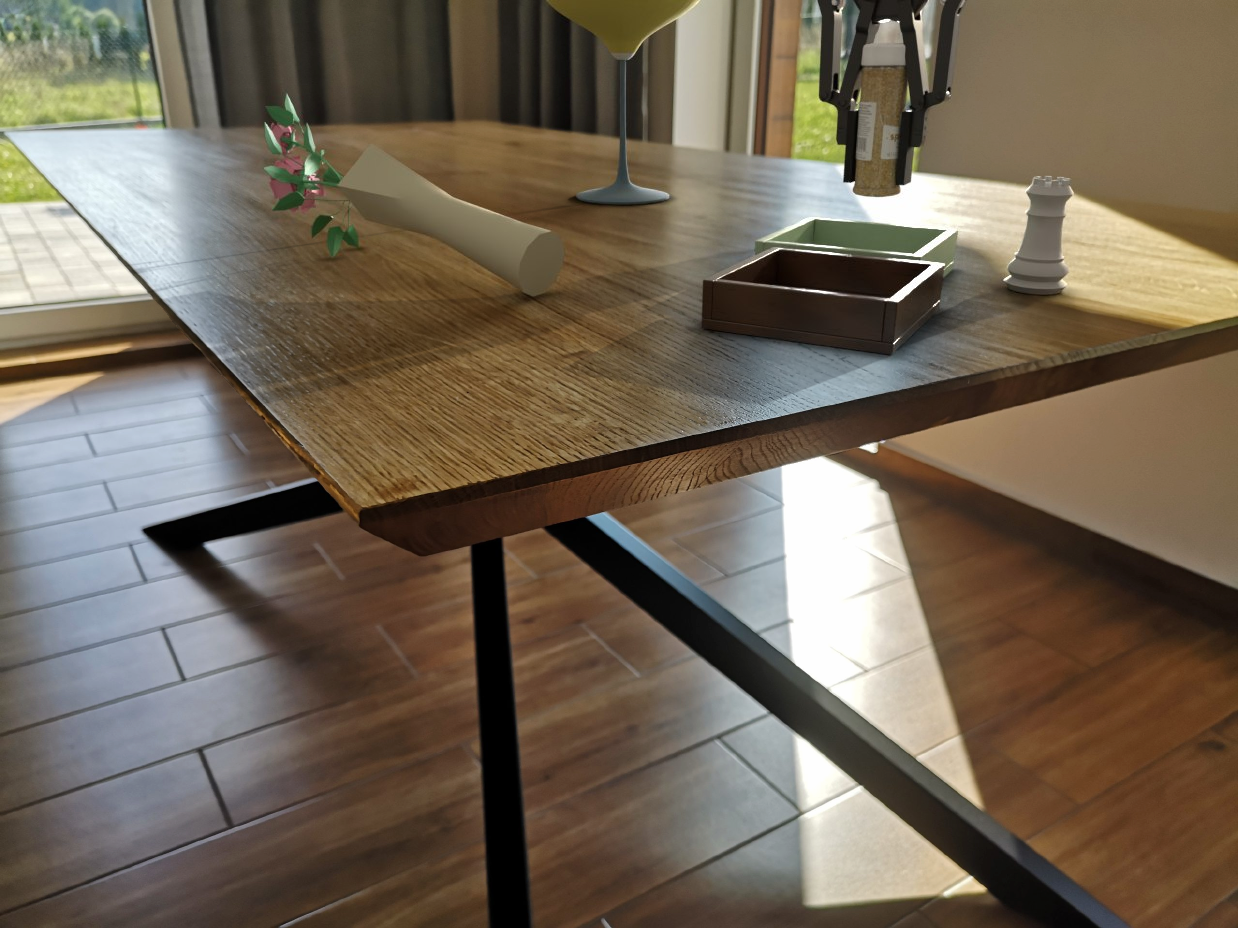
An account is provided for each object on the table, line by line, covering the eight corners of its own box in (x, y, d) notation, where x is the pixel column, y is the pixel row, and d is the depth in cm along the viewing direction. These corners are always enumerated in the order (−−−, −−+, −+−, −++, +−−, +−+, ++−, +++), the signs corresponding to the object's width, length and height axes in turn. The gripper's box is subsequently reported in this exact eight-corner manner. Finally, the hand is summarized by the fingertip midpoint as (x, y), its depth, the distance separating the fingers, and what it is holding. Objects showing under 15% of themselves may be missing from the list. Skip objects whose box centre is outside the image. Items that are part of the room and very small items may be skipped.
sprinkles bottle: (902, 198, 96) (916, 42, 91) (852, 197, 97) (863, 43, 92) (897, 191, 100) (911, 42, 95) (850, 191, 101) (860, 43, 96)
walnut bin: (939, 309, 71) (945, 263, 70) (892, 355, 61) (897, 302, 60) (770, 290, 76) (772, 246, 75) (701, 328, 66) (702, 279, 65)
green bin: (953, 269, 83) (958, 229, 82) (915, 301, 73) (921, 256, 72) (806, 254, 89) (809, 217, 87) (752, 283, 79) (755, 240, 77)
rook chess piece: (1004, 280, 79) (1019, 173, 76) (1066, 285, 78) (1084, 176, 75) (1001, 292, 76) (1017, 180, 72) (1066, 297, 74) (1086, 183, 71)
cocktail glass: (536, 188, 126) (530, -38, 116) (680, 185, 129) (685, -36, 119) (555, 212, 110) (549, -49, 100) (718, 207, 113) (728, -47, 103)
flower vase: (494, 399, 76) (218, 241, 93) (601, 321, 83) (325, 186, 99) (475, 263, 68) (175, 116, 84) (596, 189, 75) (296, 66, 91)
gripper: (788, -92, 90) (776, 182, 99) (995, -107, 82) (962, 191, 91) (816, -83, 96) (802, 174, 105) (1011, -97, 88) (978, 182, 97)
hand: (876, 181), depth 98 cm, fingers closed on sprinkles bottle, 4 cm apart
